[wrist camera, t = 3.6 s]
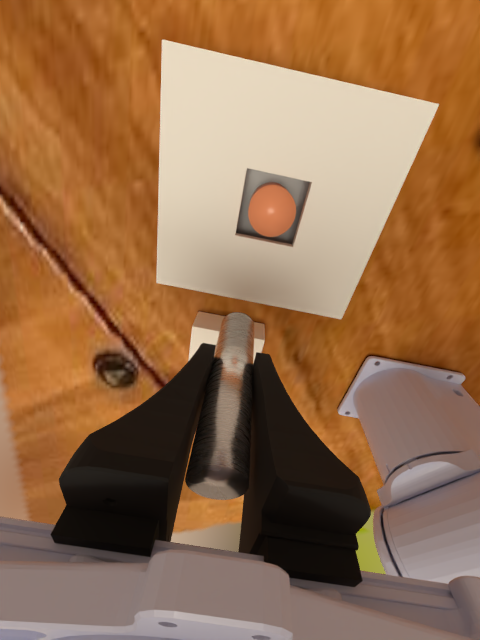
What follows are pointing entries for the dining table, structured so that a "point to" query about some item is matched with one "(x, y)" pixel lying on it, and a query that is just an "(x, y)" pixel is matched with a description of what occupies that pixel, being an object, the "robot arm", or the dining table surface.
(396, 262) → the dining table surface
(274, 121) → the white slotted stand
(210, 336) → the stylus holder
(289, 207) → the button
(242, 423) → the stylus
